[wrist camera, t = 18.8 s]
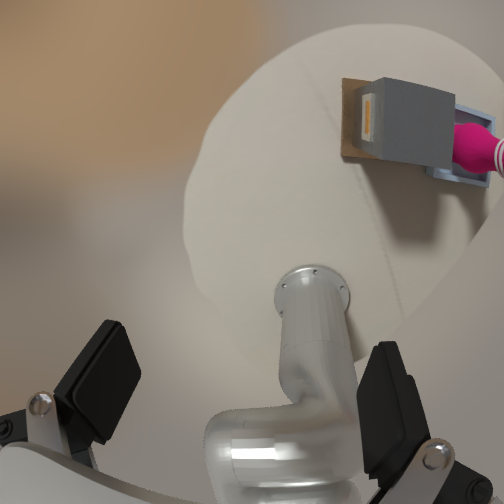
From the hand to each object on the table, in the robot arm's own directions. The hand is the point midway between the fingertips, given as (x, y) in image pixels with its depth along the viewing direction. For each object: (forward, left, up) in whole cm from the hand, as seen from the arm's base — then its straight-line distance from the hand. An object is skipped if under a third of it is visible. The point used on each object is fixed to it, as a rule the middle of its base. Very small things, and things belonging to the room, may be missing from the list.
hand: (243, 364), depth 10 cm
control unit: (+9, -14, -33) cm, 37 cm away
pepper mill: (+8, -28, -33) cm, 44 cm away
